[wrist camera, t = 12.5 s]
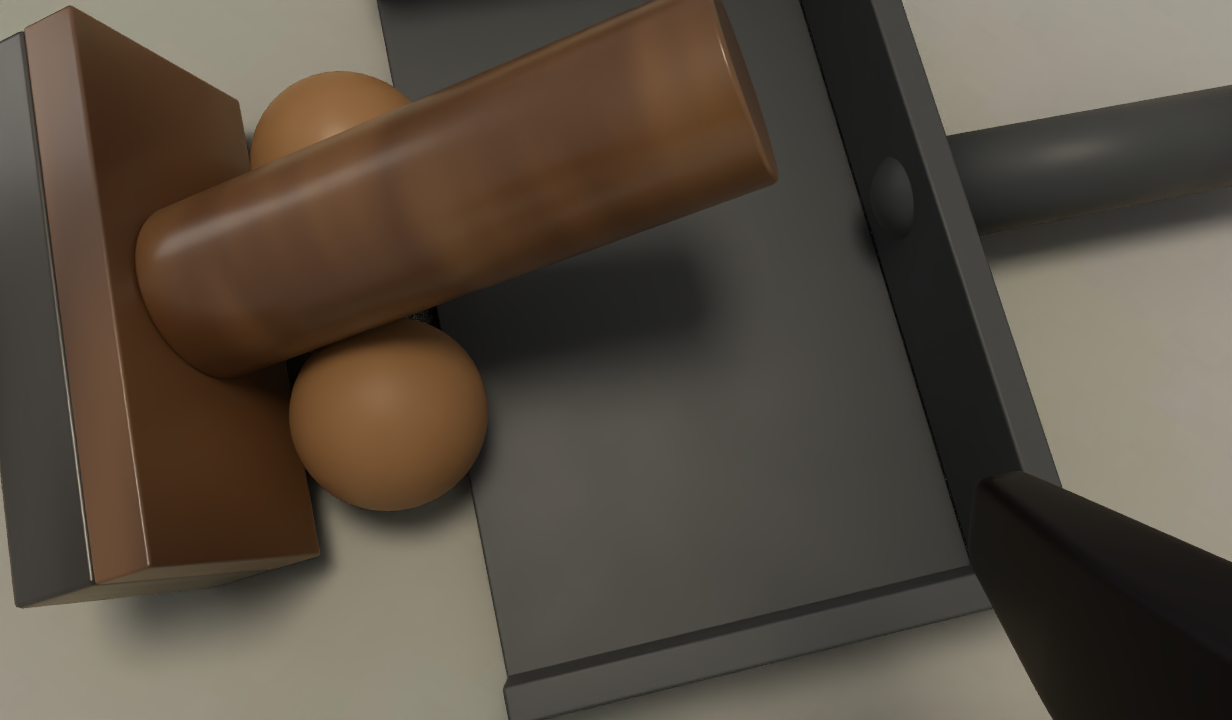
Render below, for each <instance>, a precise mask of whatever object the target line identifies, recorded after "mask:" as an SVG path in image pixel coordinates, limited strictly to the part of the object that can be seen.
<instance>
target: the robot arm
mask: <svg viewBox="0 0 1232 720" xmlns="http://www.w3.org/2000/svg"><path fill="white" fill-rule="evenodd" d="M968 554H969V559H970V563H971V565H972V568H973V571H974V573H975V575H976V577H977V579H978V580H979V582H980V584H981V586H982V588H983V590H984V592H985V594H986V596H987V598H988V600H989V601H990V603H991V605H992V607H993V609H994V611H995V613H996V615H997V617H998V619H999V621H1000V622H1001V624H1002V626H1003V628H1004V630H1005V632H1006V634H1007V636H1008V638H1009V640H1010V642H1011V643H1012V645H1013V647H1014V649H1015V651H1016V653H1017V655H1018V657H1019V659H1020V661H1021V663H1022V664H1023V666H1024V668H1025V670H1026V672H1027V674H1028V676H1029V678H1030V680H1031V682H1032V684H1033V685H1034V687H1035V689H1036V691H1037V693H1038V695H1039V696H1040V698H1041V700H1042V702H1043V703H1044V705H1045V707H1046V709H1047V711H1048V712H1049V714H1050V716H1051V717H1052V719H1053V720H1232V562H1230V561H1228V560H1226V559H1223V558H1221V557H1219V556H1216V555H1214V554H1212V553H1210V552H1207V551H1205V550H1203V549H1200V548H1198V547H1196V546H1193V545H1191V544H1189V543H1187V542H1184V541H1182V540H1180V539H1177V538H1175V537H1173V536H1171V535H1168V534H1166V533H1164V532H1161V531H1159V530H1157V529H1155V528H1152V527H1150V526H1148V525H1145V524H1143V523H1141V522H1139V521H1136V520H1134V519H1132V518H1129V517H1127V516H1125V515H1123V514H1120V513H1118V512H1116V511H1113V510H1111V509H1109V508H1107V507H1104V506H1102V505H1100V504H1097V503H1095V502H1093V501H1090V500H1088V499H1086V498H1084V497H1081V496H1079V495H1077V494H1074V493H1072V492H1070V491H1068V490H1065V489H1063V488H1061V487H1058V486H1056V485H1054V484H1052V483H1049V482H1047V481H1045V480H1042V479H1040V478H1038V477H1036V476H1033V475H1031V474H1028V473H1026V472H1022V471H1012V472H1008V473H1003V474H999V475H995V476H991V477H986V478H983V479H982V480H980V481H979V482H978V483H977V484H976V486H975V488H974V492H973V499H972V509H971V518H970V528H969V537H968Z"/></svg>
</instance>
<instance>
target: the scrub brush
mask: <svg viewBox="0 0 1232 720" xmlns="http://www.w3.org/2000/svg"><path fill="white" fill-rule="evenodd" d="M777 181H778V170H777V165H776V160H775V156H774V153H773V149H772V145H771V142H770V138H769V135H768V131H767V128H766V125H765V121H764V118H763V115H762V112H761V109H760V105H759V102H758V99H757V96H756V93H755V90H754V87H753V84H752V81H751V78H750V75H749V72H748V69H747V67H746V64H745V61H744V58H743V55H742V52H741V50H740V47H739V44H738V41H737V39H736V36H735V33H734V31H733V28H732V25H731V23H730V20H729V18H728V15H727V13H726V10H725V8H724V5H723V3H722V1H721V0H651V1H649V2H646V3H644V4H642V5H639V6H637V7H635V8H632V9H630V10H628V11H625V12H623V13H620V14H618V15H616V16H613V17H611V18H609V19H606V20H604V21H602V22H599V23H597V24H595V25H592V26H590V27H588V28H585V29H583V30H580V31H578V32H576V33H573V34H571V35H569V36H566V37H564V38H562V39H559V40H557V41H555V42H552V43H550V44H548V45H545V46H543V47H540V48H538V49H536V50H533V51H531V52H529V53H526V54H524V55H522V56H519V57H517V58H515V59H512V60H510V61H508V62H505V63H503V64H500V65H498V66H496V67H493V68H491V69H489V70H486V71H484V72H482V73H479V74H477V75H475V76H472V77H470V78H468V79H465V80H463V81H460V82H458V83H456V84H453V85H451V86H449V87H446V88H444V89H442V90H439V91H437V92H435V93H432V94H430V95H428V96H425V97H423V98H420V99H418V100H416V101H413V102H411V103H409V104H406V105H404V106H402V107H399V108H397V109H395V110H392V111H390V112H388V113H385V114H383V115H380V116H378V117H376V118H373V119H371V120H369V121H366V122H364V123H362V124H359V125H357V126H355V127H352V128H350V129H348V130H345V131H343V132H341V133H338V134H336V135H333V136H331V137H329V138H326V139H324V140H322V141H319V142H317V143H315V144H312V145H310V146H308V147H305V148H303V149H301V150H298V151H296V152H293V153H291V154H289V155H286V156H284V157H282V158H279V159H277V160H275V161H272V162H270V163H268V164H265V165H263V166H261V167H258V168H256V169H253V170H251V166H250V161H249V155H248V150H247V144H246V139H245V133H244V128H243V122H242V116H241V111H240V105H239V102H238V100H236V99H234V98H233V97H231V96H229V95H227V94H226V93H224V92H222V91H220V90H219V89H217V88H215V87H213V86H212V85H210V84H208V83H206V82H205V81H203V80H201V79H199V78H198V77H196V76H194V75H192V74H191V73H189V72H187V71H185V70H184V69H182V68H180V67H178V66H177V65H175V64H173V63H171V62H170V61H168V60H166V59H164V58H163V57H161V56H159V55H157V54H156V53H154V52H152V51H150V50H149V49H147V48H145V47H143V46H142V45H140V44H138V43H136V42H135V41H133V40H131V39H129V38H128V37H126V36H124V35H122V34H121V33H119V32H117V31H115V30H114V29H112V28H110V27H108V26H107V25H105V24H103V23H101V22H100V21H98V20H96V19H94V18H93V17H91V16H89V15H87V14H86V13H84V12H82V11H80V10H79V9H77V8H75V7H73V6H67V7H65V8H63V9H61V10H59V11H57V12H55V13H53V14H51V15H49V16H47V17H45V18H43V19H41V20H39V21H38V22H36V23H34V24H32V25H30V26H28V27H26V28H25V29H24V32H18V33H16V34H14V35H12V36H10V37H8V38H6V39H4V40H2V41H0V474H1V483H2V492H3V501H4V510H5V519H6V528H7V537H8V546H9V556H10V565H11V574H12V583H13V592H14V601H15V605H16V607H19V608H31V607H41V606H50V605H59V604H69V603H78V602H87V601H97V600H106V599H115V598H125V597H134V596H143V595H153V594H162V593H171V592H181V591H190V590H199V589H208V588H211V587H214V586H218V585H221V584H225V583H228V582H231V581H235V580H238V579H242V578H245V577H248V576H252V575H255V574H259V573H262V572H265V571H268V570H269V569H276V568H280V567H283V566H287V565H290V564H293V563H297V562H300V561H304V560H307V559H310V558H314V557H317V556H319V555H320V550H319V544H318V539H317V533H316V528H315V522H314V516H313V511H312V505H311V500H310V494H309V489H308V483H307V478H306V472H305V466H304V465H303V463H302V462H301V460H300V458H299V456H298V454H297V451H296V449H295V446H294V444H293V440H292V436H291V431H290V424H289V407H290V399H291V395H292V394H291V389H290V383H289V378H288V372H287V366H286V361H285V360H288V359H290V358H293V357H296V356H299V355H301V354H304V353H307V352H310V351H313V350H315V349H318V348H321V347H324V346H326V345H329V344H332V343H335V342H338V341H340V340H343V339H346V338H349V337H351V336H354V335H357V334H360V333H363V332H365V331H368V330H371V329H374V328H376V327H379V326H382V325H385V324H388V323H390V322H393V321H396V320H399V319H401V318H404V317H407V316H410V315H413V314H415V313H418V312H421V311H424V310H426V309H429V308H432V307H435V306H438V305H440V304H443V303H446V302H449V301H451V300H454V299H457V298H460V297H463V296H465V295H468V294H471V293H474V292H476V291H479V290H482V289H485V288H488V287H490V286H493V285H496V284H499V283H501V282H504V281H507V280H510V279H513V278H515V277H518V276H521V275H524V274H526V273H529V272H532V271H535V270H538V269H540V268H543V267H546V266H549V265H551V264H554V263H557V262H560V261H563V260H565V259H568V258H571V257H574V256H576V255H579V254H582V253H585V252H588V251H590V250H593V249H596V248H599V247H601V246H604V245H607V244H610V243H613V242H615V241H618V240H621V239H624V238H626V237H629V236H632V235H635V234H638V233H640V232H643V231H646V230H649V229H651V228H654V227H657V226H660V225H663V224H665V223H668V222H671V221H674V220H676V219H679V218H682V217H685V216H688V215H690V214H693V213H696V212H699V211H701V210H704V209H707V208H710V207H713V206H715V205H718V204H721V203H724V202H726V201H729V200H732V199H735V198H738V197H740V196H743V195H746V194H749V193H751V192H754V191H757V190H760V189H763V188H765V187H768V186H771V185H774V184H775V183H776V182H777Z"/></svg>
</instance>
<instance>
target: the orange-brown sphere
mask: <svg viewBox="0 0 1232 720" xmlns="http://www.w3.org/2000/svg"><path fill="white" fill-rule="evenodd" d="M289 424H290V431H291V436H292V440H293V444H294V446H295V449H296V451H297V454H298V456H299V458H300V460H301V462H302V463H303V465H304V466H305V468H306V469H307V471H308V472H309V474H310V475H311V476H312V477H313V478H314V479H315V480H316V482H317V483H318V484H319V485H321V486H322V487H323V488H324V489H325V490H327V491H328V492H329V493H331V494H332V495H334V496H336V497H337V498H339V499H341V500H343V501H345V502H347V503H350V504H352V505H354V506H358V507H361V508H365V509H370V510H377V511H396V510H404V509H410V508H414V507H417V506H421V505H423V504H426V503H428V502H431V501H433V500H435V499H436V498H438V497H440V496H442V495H443V494H445V493H446V492H447V491H449V490H450V489H451V488H453V487H454V486H455V485H456V484H457V483H458V482H459V481H460V480H461V479H462V478H463V477H464V476H465V475H466V473H467V472H468V471H469V470H470V468H471V467H472V465H473V464H474V462H475V460H476V458H477V457H478V455H479V452H480V450H481V448H482V445H483V442H484V439H485V435H486V431H487V424H488V401H487V395H486V390H485V386H484V383H483V380H482V378H481V375H480V373H479V371H478V369H477V367H476V365H475V364H474V362H473V360H472V359H471V358H470V356H469V355H468V354H467V352H466V351H465V350H464V349H463V348H462V347H461V346H460V345H459V344H458V343H457V342H456V341H455V340H454V339H452V338H451V337H450V336H449V335H447V334H446V333H444V332H442V331H441V330H439V329H437V328H436V327H433V326H431V325H429V324H426V323H424V322H420V321H417V320H413V319H409V318H401V319H399V320H396V321H393V322H390V323H388V324H385V325H382V326H379V327H376V328H374V329H371V330H368V331H365V332H363V333H360V334H357V335H354V336H351V337H349V338H346V339H343V340H340V341H338V342H335V343H332V344H329V345H326V346H324V347H321V348H318V349H315V350H314V351H313V352H312V354H311V355H310V356H309V357H308V359H307V360H306V361H305V363H304V365H303V366H302V368H301V370H300V372H299V374H298V376H297V379H296V381H295V384H294V386H293V390H292V395H291V399H290V407H289Z"/></svg>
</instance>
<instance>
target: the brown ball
mask: <svg viewBox="0 0 1232 720" xmlns="http://www.w3.org/2000/svg"><path fill="white" fill-rule="evenodd" d="M409 103H411V101H410V100H409V99H408V98H407V97H406V96H405V95H404V94H402V93H401V92H400V91H399V90H397V89H396V88H394V87H393V86H391V85H389V84H388V83H386V82H383V81H381V80H379V79H377V78H374V77H371V76H368V75H364V74H360V73H354V72H344V71H335V72H325V73H320V74H316V75H312V76H310V77H307V78H304V79H302V80H300V81H298V82H296V83H294V84H293V85H291V86H289V87H288V88H287V89H286V90H284V91H283V92H282V93H280V94H279V95H278V96H277V97H276V98H275V99H274V100H273V101H272V102H271V103H270V105H269V106H268V107H267V109H266V110H265V112H264V113H263V115H262V117H261V119H260V121H259V123H258V125H257V127H256V130H255V133H254V136H253V140H252V146H251V160H250V166H251V170H253V169H256V168H258V167H261V166H263V165H265V164H268V163H270V162H272V161H275V160H277V159H279V158H282V157H284V156H286V155H289V154H291V153H293V152H296V151H298V150H301V149H303V148H305V147H308V146H310V145H312V144H315V143H317V142H319V141H322V140H324V139H326V138H329V137H331V136H333V135H336V134H338V133H341V132H343V131H345V130H348V129H350V128H352V127H355V126H357V125H359V124H362V123H364V122H366V121H369V120H371V119H373V118H376V117H378V116H380V115H383V114H385V113H388V112H390V111H392V110H395V109H397V108H399V107H402V106H404V105H406V104H409Z"/></svg>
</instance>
